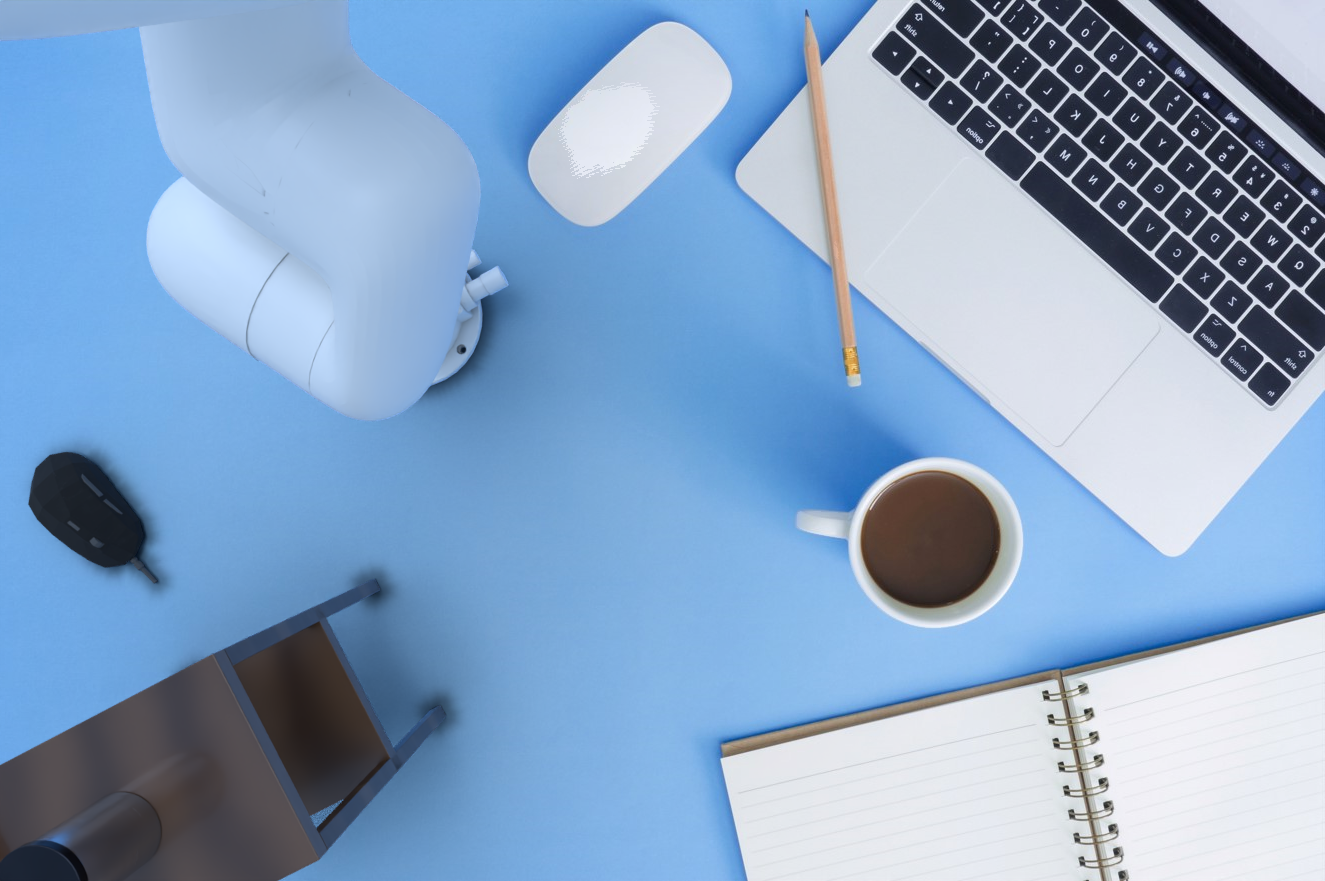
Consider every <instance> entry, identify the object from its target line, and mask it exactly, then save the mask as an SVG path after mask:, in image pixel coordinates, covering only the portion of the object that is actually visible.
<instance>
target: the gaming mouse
mask: <svg viewBox="0 0 1325 881" xmlns="http://www.w3.org/2000/svg"><path fill="white" fill-rule="evenodd" d="M27 505H28V507H29V508H30V510H31V512H32V513H33V515H34V517H35V518H36V520H37V521H38V522H39V523H40V524H41V525H42V526H43V527H44V528H45V530H46V531H48V533H50V535H52V536H53V537H54V538H56V539H57V540H58V541H60V542H61V543H62V544H64V545H65V546H66V547H67V548H69V549H70V550H71V551H72V552H74V553H76V554H78V555H79V556H81V557H83V559H86V560H87V561H89V562H91V563H93V564H95V565H97V566H100V567H102V568H105V569H107V568H108V569H109V568H114V567H118V566H125V565H126V564H128V563H131V564H133V567H135V569H136V570H137V571H140V572H142V573H143V575H145V576H146V578H148V579H149V580H150V581H151V583H153V585H155V584H156V583H158V579H157V578H156V577H155V576H153V574H152V573H151V572H150V570H149V571H148V569H147V568H146V567H145V566H146V565H145V564H144V563H143V562H142V561H141V560H139V558H138V557H137V556H136V555H137V554H138V552H139V550H140V547H141V545H142V542H143V539H144V536H145V535H144V531H143V528H142V524H141V521H140V520H141V519H140V518H139V517H138V516H137V515H136V513H135V512H134V511H133V509H132V508H131V506H130V505H129V504H128V502H127V501H126V500H125V499H124V497H123V496H122V495H121V494H120V493H119V492H118V490H117V489H116V488H115V487H114V485H113V484H112V482H111V481H110V480H109V478H108V477H107V476H106V474H104V472H103V471H102V470H101V469H100V468H99V467H98V465H97V464H95V463H94V462H93V461H90V460H89V459H88V458H86V457H84V456H83V455H82V454H79V453H76V452H73V451H61V452H57V453H52V454H49V455H47V457H45V458H44V459H43V460H42V461H41V462H40V463H39V464H38V465H37V466H36V467H35V469H34V472H33V476H32V479H31V483H30V491H29V497H28V503H27Z"/></svg>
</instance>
